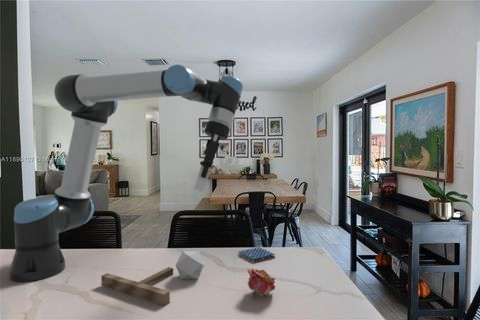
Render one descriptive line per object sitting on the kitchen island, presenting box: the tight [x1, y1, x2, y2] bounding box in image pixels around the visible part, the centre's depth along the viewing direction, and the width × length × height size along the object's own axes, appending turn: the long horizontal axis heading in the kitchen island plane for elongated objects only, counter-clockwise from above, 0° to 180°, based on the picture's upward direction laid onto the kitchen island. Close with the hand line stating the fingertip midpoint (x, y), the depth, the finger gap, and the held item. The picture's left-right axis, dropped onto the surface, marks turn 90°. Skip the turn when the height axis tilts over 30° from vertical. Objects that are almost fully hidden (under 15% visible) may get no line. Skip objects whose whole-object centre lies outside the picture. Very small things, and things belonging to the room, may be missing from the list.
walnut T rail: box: [101, 266, 174, 307], centre depth 90 cm, size 24×16×3 cm, turn 61°
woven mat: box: [238, 246, 276, 264], centre depth 112 cm, size 10×11×2 cm
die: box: [175, 250, 205, 280], centre depth 94 cm, size 8×9×10 cm
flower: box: [246, 267, 276, 299], centre depth 82 cm, size 9×9×7 cm
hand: (198, 189), depth 92 cm, fingers open, 13 cm apart
